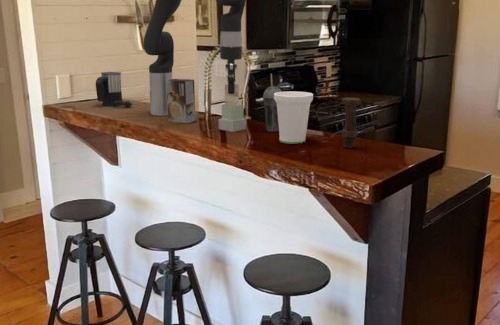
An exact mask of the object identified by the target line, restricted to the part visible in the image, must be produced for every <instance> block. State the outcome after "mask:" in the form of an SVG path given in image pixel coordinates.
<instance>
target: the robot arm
mask: <svg viewBox="0 0 500 325" xmlns="http://www.w3.org/2000/svg"><path fill="white" fill-rule="evenodd" d="M215 1H216V2H217V3H218V4H219V5H221V6H222V7H223V6H224V7H230V8H229V11H228V12H226V13H223V14H221V17H220V36H219V51H220V52H219V54H220V55H219V58H220V59H221V60H227V62H226V64H225V71H226V74H225V75H226V79H227V80H226V81H227V84H228V93H229V94H234V93H235V84H236V78H237V70H238V66H237V64H236V62H235V61H237V60H238V61H239V60H242V58H243V36H242V18H243V14H244V10H245V6H246V2H247V0H215ZM181 2H182V0H155V3H154V7H153V10H152V13H151V16H150V20H149V23H148V25H147V28H146V31H145V33H144V34H145V35H144V36H143V41H142V42H143V43H142V44H143V46H142V47H143V50H144V52H145V53H146V54H147V56H148V55H149V56H157V58H156V60H155V61H154V62H153V63H151V64H150V65H149V66H148V73H149V74H148V75H149V103H150V104H149V105H150V114H151V116H157V117H160V116H161V117H165V116H168V105H167V85H166V80H170V79H173V66H174V62H175V61H174V58H175V57H174V52H175V48H174V47H175V45H174V44H175V43H174V38H173V36H172V34H171V33H170V32H168V31H163V30H164V28H165V25H166V23H167V22H168V21H169V20H170V18H172V16H173V15H174V14H175V12H177V10H178V9H179V7H180V6H181Z"/></svg>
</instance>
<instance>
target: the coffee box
mask: <svg viewBox="0 0 500 325" xmlns="http://www.w3.org/2000/svg"><path fill="white" fill-rule="evenodd" d="M166 85H167V105H168V115H167V120H168V123H176V124H187V125H188V124H191V123H195V122H196V100H195V99H196V97H195V96H196V95H195V79H186V78H172V79H170V80H166ZM194 121H195V122H194Z"/></svg>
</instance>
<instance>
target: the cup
mask: <svg viewBox="0 0 500 325" xmlns="http://www.w3.org/2000/svg"><path fill="white" fill-rule="evenodd" d="M274 100H275V102H276V103H277V113H278V124H279V131H278V134H279V135H278V136H279V138H278V139H279V142H280V143H283V144H288V145H298V144H299V143H300V144H303V142H304V143H306V135H307V129H308V123H309V122H308V121H309V116H310V107H311V103H312V102H313V100H314V93H312V92H309V91H308V92H307V91H291V90H290V91H282V92H277V93H274Z"/></svg>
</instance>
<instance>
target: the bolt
mask: <svg viewBox="0 0 500 325" xmlns="http://www.w3.org/2000/svg"><path fill="white" fill-rule="evenodd" d="M340 103H341V104H342V105H344V106H345V107H344V109H345V115H344V116H345V117H344V118H345V119H344V120H345V121H344V128H343V129H342V130H341V134H340V135H341V137H343V147H344V148H346V147H348V148H347V149H353V148H354V147H355V139H356V137H357V136H358V135H359V131H358V130H357V129H356V115H357V108H358V106H359V105H361V104H362V100H361V99H360V98H359V97H343V98H342V99H341V102H340ZM352 147H353V148H352Z"/></svg>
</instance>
